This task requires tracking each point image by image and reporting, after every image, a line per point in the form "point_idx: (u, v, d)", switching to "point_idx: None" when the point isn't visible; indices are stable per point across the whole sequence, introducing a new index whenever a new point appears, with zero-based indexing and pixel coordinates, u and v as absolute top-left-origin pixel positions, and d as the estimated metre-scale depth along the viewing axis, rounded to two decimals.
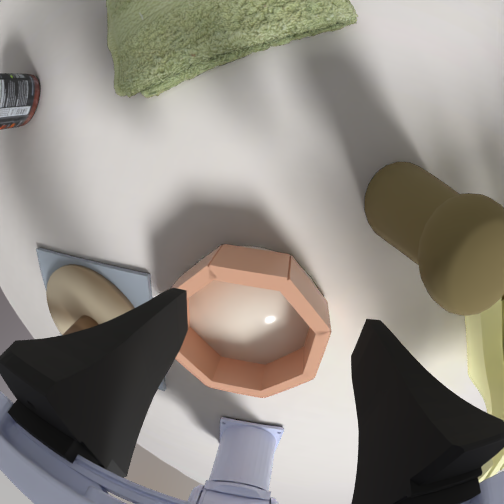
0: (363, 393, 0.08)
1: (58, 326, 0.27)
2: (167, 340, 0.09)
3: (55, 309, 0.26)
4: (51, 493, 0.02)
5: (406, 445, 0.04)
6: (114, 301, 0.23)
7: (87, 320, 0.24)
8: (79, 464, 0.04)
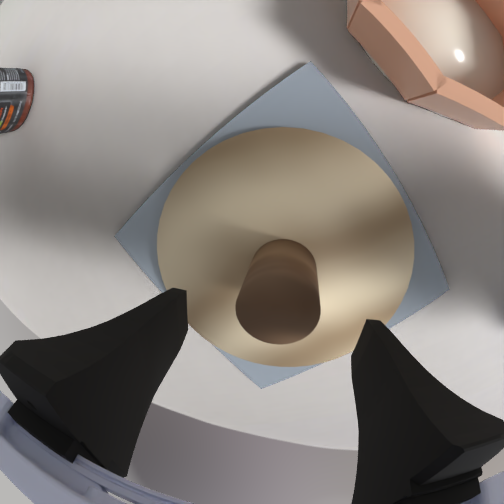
0: (363, 393, 0.08)
1: (222, 343, 0.18)
2: (167, 340, 0.09)
3: (199, 311, 0.17)
4: (51, 493, 0.02)
5: (406, 445, 0.04)
6: (292, 145, 0.12)
7: (268, 246, 0.14)
8: (79, 464, 0.04)
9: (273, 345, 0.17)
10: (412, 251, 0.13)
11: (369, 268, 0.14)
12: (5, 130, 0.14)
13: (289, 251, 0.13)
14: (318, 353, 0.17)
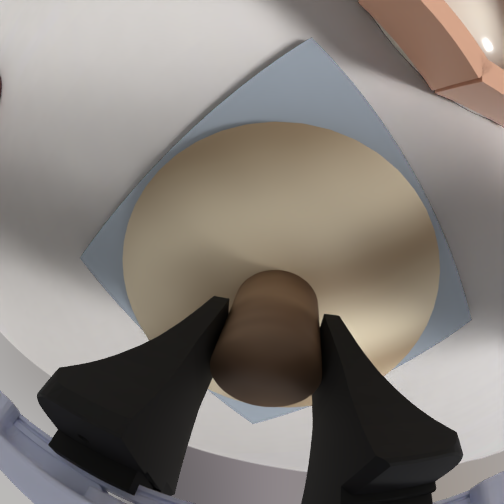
0: (317, 390, 0.08)
1: None
2: None
3: None
4: (51, 493, 0.02)
5: (341, 448, 0.05)
6: (288, 147, 0.09)
7: (256, 280, 0.11)
8: None
9: None
10: (436, 282, 0.10)
11: (384, 303, 0.11)
12: None
13: (282, 291, 0.10)
14: None
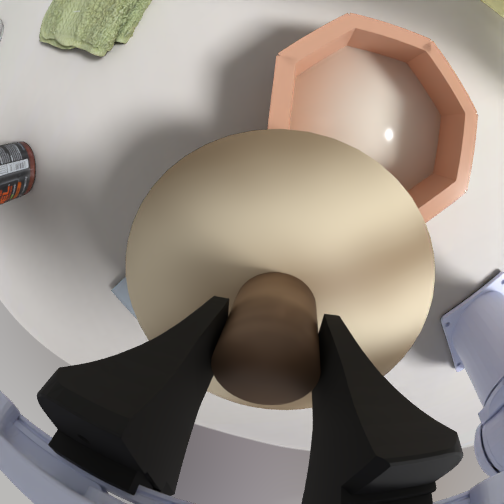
0: (318, 390, 0.08)
1: None
2: (213, 351, 0.09)
3: None
4: (51, 493, 0.02)
5: (342, 448, 0.05)
6: (292, 153, 0.10)
7: (257, 281, 0.11)
8: None
9: None
10: (431, 288, 0.11)
11: (380, 308, 0.11)
12: None
13: (283, 291, 0.10)
14: None
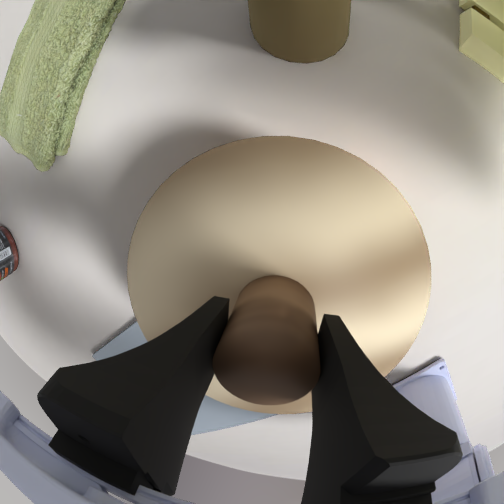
0: (317, 390, 0.08)
1: None
2: (213, 351, 0.09)
3: None
4: (51, 493, 0.02)
5: (341, 448, 0.05)
6: (298, 160, 0.10)
7: (259, 283, 0.11)
8: None
9: None
10: (427, 296, 0.11)
11: (377, 314, 0.12)
12: (5, 276, 0.22)
13: (285, 293, 0.10)
14: (307, 402, 0.14)
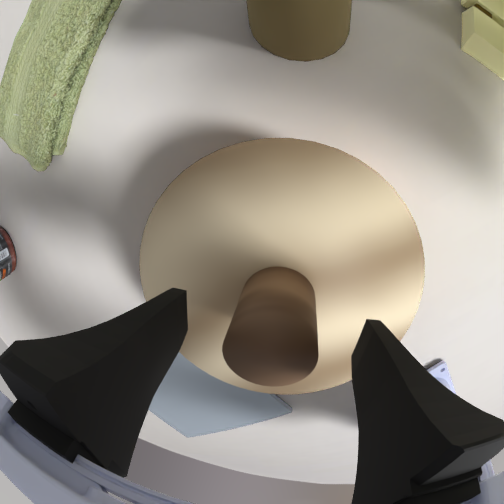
0: (363, 393, 0.08)
1: (207, 367, 0.16)
2: (167, 340, 0.09)
3: None
4: (51, 493, 0.02)
5: (406, 445, 0.04)
6: (300, 161, 0.11)
7: (263, 274, 0.12)
8: (79, 464, 0.04)
9: None
10: (421, 287, 0.12)
11: (373, 302, 0.13)
12: (3, 277, 0.22)
13: (287, 285, 0.11)
14: (309, 383, 0.15)
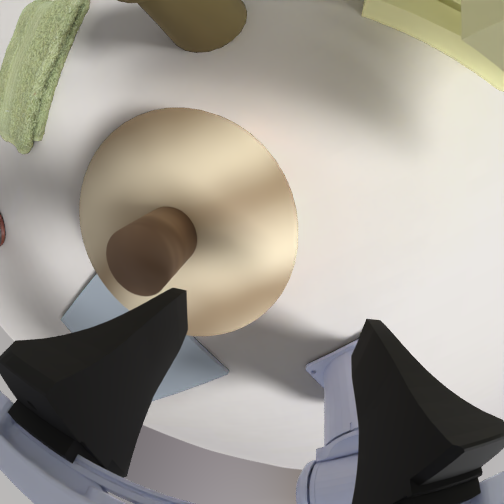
0: (363, 393, 0.08)
1: (129, 305, 0.19)
2: (167, 340, 0.09)
3: (110, 272, 0.18)
4: (51, 493, 0.02)
5: (406, 445, 0.04)
6: (173, 123, 0.13)
7: (151, 211, 0.15)
8: (78, 464, 0.04)
9: None
10: (295, 223, 0.14)
11: (248, 238, 0.15)
12: None
13: (160, 214, 0.14)
14: (211, 324, 0.18)
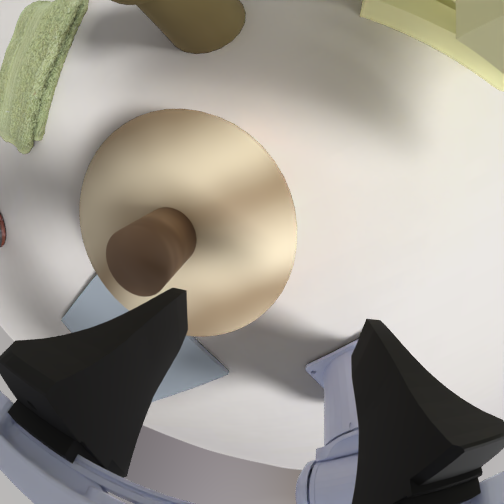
0: (364, 394, 0.08)
1: (129, 305, 0.19)
2: (167, 340, 0.09)
3: (110, 272, 0.18)
4: (51, 493, 0.02)
5: (406, 445, 0.04)
6: (172, 124, 0.13)
7: (151, 212, 0.15)
8: (79, 464, 0.04)
9: None
10: (293, 223, 0.15)
11: (247, 238, 0.15)
12: None
13: (159, 215, 0.14)
14: (211, 324, 0.18)
